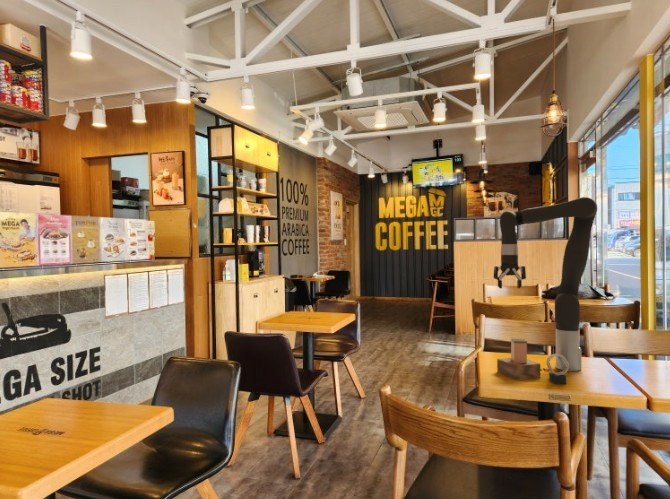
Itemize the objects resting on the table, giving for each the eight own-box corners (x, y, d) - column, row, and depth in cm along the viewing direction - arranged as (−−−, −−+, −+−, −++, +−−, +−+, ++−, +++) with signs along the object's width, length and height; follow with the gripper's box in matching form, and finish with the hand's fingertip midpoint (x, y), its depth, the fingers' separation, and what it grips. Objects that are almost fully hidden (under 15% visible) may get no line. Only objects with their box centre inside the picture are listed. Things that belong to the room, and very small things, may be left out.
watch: (571, 384, 177) (571, 356, 177) (550, 384, 177) (549, 355, 177) (565, 380, 182) (565, 352, 182) (544, 379, 183) (544, 352, 183)
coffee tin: (523, 359, 193) (523, 338, 192) (527, 363, 187) (527, 341, 187) (510, 359, 193) (510, 338, 193) (513, 362, 188) (514, 341, 188)
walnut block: (521, 370, 198) (521, 357, 198) (540, 378, 186) (540, 363, 186) (497, 372, 195) (497, 358, 195) (514, 380, 183) (514, 365, 183)
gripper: (496, 254, 210) (496, 289, 210) (527, 253, 210) (528, 289, 210) (491, 253, 218) (491, 287, 218) (521, 253, 217) (522, 287, 217)
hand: (509, 288), depth 214 cm, fingers open, 8 cm apart
